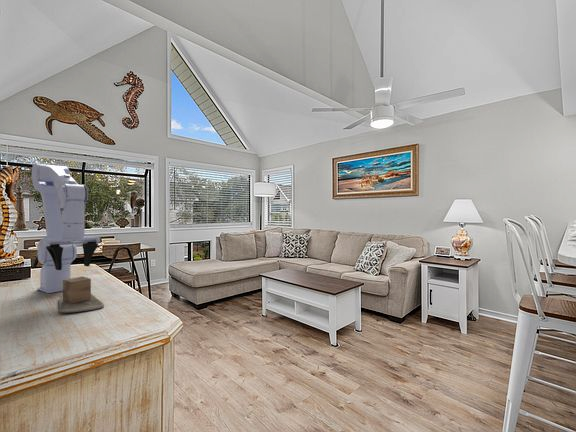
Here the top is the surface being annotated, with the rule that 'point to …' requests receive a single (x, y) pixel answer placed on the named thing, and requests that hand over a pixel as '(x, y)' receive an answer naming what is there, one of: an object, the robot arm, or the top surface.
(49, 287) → the robot arm
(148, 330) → the top surface
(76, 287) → the walnut block
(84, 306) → the stone
